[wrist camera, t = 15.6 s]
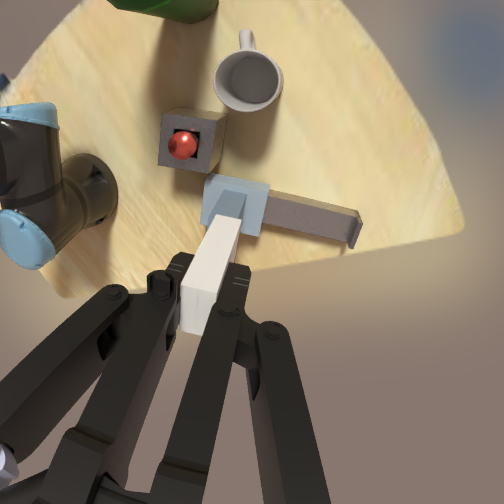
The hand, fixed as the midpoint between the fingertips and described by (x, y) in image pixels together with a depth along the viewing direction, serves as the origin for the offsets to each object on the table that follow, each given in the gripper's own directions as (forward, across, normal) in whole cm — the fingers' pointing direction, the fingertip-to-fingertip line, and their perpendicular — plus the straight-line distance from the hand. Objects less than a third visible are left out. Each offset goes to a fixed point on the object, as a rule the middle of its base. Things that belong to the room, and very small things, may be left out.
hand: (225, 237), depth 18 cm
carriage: (+33, -3, -12) cm, 35 cm away
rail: (+34, +5, -12) cm, 37 cm away
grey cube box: (+34, -11, -2) cm, 36 cm away
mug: (+35, -4, +10) cm, 36 cm away
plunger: (+34, -11, -2) cm, 36 cm away
